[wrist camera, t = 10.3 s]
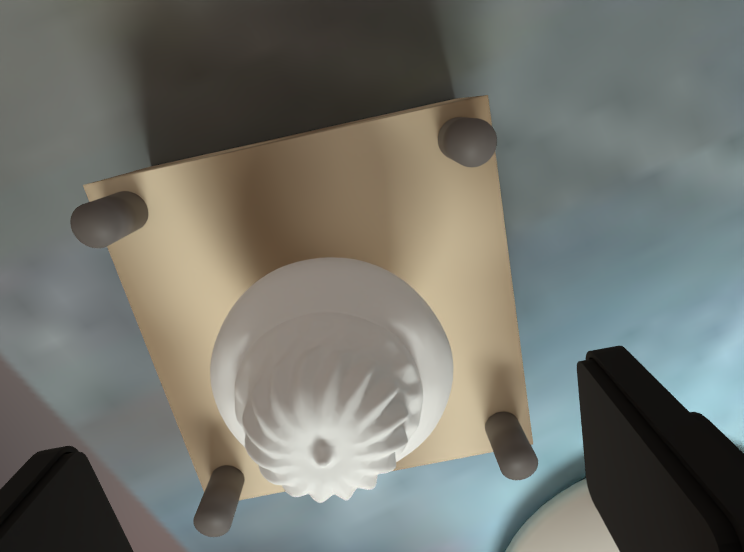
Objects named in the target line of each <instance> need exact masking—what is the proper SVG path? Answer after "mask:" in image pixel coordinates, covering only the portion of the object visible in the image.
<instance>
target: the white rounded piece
mask: <svg viewBox="0 0 744 552" xmlns="http://www.w3.org/2000/svg"><path fill="white" fill-rule="evenodd" d="M210 379H211V387H212V392H213V396H214V399H215V402H216V405H217V408H218V410H219V412H220V414H221V416H222V418H223V420H224V422H225V424H226V425H227V427H228V428H229V430H230V431H231V433H232V434H233V435H234V436H235V438H236V439H237V440H238V441H239V442H240V443H241V444H242V445H243V446H244V447H245V449H246V451H247V453H248V455H249V456H250V457H251V459H252V460H253V461H254V462H255V463H257V464H258V466H259V469H260V472H261V474H262V475H263V477H264V478H265V479H266V480H268V481H269V482H271V483H273V484H275V485H282V487H283V488H284V490H285V491H286V492H287V493H288V494H289V495H291V496H293V497H300V496H303V495H306V494H310V496H311V497H312V498H313V499H314V500H315V501H317V502H319V503H322V502H324V501H325V500H327V499H328V498H329V497H330V496H331V495H334V494H335V495H337V496H339V497H340V498H342V499H343V500H348V499H350V498H351V496H352V495H353V493H354V491H355V490H356V489H357V488H362V489H368V490H370V489H373V488H374V487H375V486H376V483H377V475H378V474H382V473H388V472H390V471H393V470H394V469H395V468H396V462H398V461H399V460H401V459H402V458H404V457H405V456H407V455H408V454H409V453H411V452H412V451H413V450H415V449H416V448H417V447H418V446H419V445H420V444H422V443H423V442H424V441H425V440H426V438H427V437H428V436H429V435H430V434H431V432H432V431H433V430H434V428H435V427H436V425H437V423H438V422H439V420H440V418H441V416H442V414H443V412H444V410H445V407H446V405H447V402H448V399H449V395H450V392H451V387H452V382H453V357H452V351H451V347H450V343H449V341H448V338H447V336H446V333H445V331H444V329H443V327H442V325H441V323H440V322H439V320H438V318H437V317H436V315H435V314H434V312H433V311H432V309H431V308H430V306H429V305H428V304H427V302H426V301H425V300H424V299H423V298H422V297H421V296H420V295H419V294H418V293H417V292H416V291H415V290H414V289H413V288H412V287H411V286H410V285H408V284H407V283H406V282H405V281H403V280H402V279H401V278H399V277H398V276H396V275H395V274H393V273H391V272H389V271H388V270H385V269H383V268H381V267H379V266H377V265H373V264H371V263H368V262H364V261H360V260H356V259H349V258H335V257H325V258H315V259H308V260H303V261H299V262H295V263H292V264H288V265H286V266H283V267H281V268H278V269H276V270H274V271H272V272H271V273H269V274H267V275H265V276H264V277H262V278H261V279H260V280H258V281H257V282H256V283H254V284H253V285H252V286H251V287H250V288H249V289H248V290H247V291H245V292H244V293H243V295H242V296H241V297H240V298H239V299H238V300H237V302H236V303H235V304H234V306H233V307H232V308H231V310H230V311H229V313H228V315H227V317H226V318H225V320H224V322H223V324H222V326H221V328H220V331H219V333H218V336H217V338H216V341H215V344H214V347H213V351H212V357H211V364H210Z"/></svg>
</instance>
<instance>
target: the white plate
mask: <svg viewBox="0 0 744 552" xmlns="http://www.w3.org/2000/svg"><path fill="white" fill-rule="evenodd" d="M505 552H620V551H619V549H618V547H617V546H616V544H615V542H614V540H613V538H612V536H611V534H610V533H609V531H608V529H607V527H606V525H605V523H604V522H603V520H602V518H601V516H600V514H599V512H598V510H597V509H596V507H595V505H594V503H593V501H592V499H591V496H590V493H589V490H588V486H587V481H586V479H583V480H581V481H579V482H577V483H575V484H574V485H572V486H570V487H569V488H567V489H565V490H564V491H562V492H560V493H559V494H557V495H556V496H554V497H553V498H552V499H551V500H549V501H548V502H547V503H545V504H544V505H543V506H541V507H540V508H539V509H538V510H537V511H536V512H535V513H534V514H533V515H532V516H531V517H530V518H529V519H528V520H527V521H526V522H525V523H524V525H523V526H522V527H521V528H520V529H519V531H518V532H517V533H516V534H515V536H514V537H513V539H512V541H511V542H510V544H509V546H508V547H507V549H506V551H505Z"/></svg>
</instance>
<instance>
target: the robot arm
mask: <svg viewBox="0 0 744 552" xmlns="http://www.w3.org/2000/svg"><path fill="white" fill-rule="evenodd" d="M577 377H578V388H579V400H580V412H581V424H582V435H583V447H584V459H585V471H586V481H587V486H588V490H589V493H590V496H591V499H592V501H593V503H594V505H595V507H596V509H597V510H598V512H599V514H600V516H601V518H602V520H603V522H604V523H605V525H606V527H607V529H608V531H609V533H610V534H611V536H612V538H613V540H614V542H615V544H616V546H617V547H618V549H619V551H620V552H744V453H743V452H742V451H741V450H739V449H738V448H737V447H736V446H735V445H734V444H733V443H732V442H731V441H730V440H729V439H728V438H727V437H726V436H725V435H724V434H723V433H722V432H721V431H720V430H719V429H718V428H717V427H716V426H715V425H713V424H712V423H711V422H710V421H709V420H708V419H707V418H706V417H704V416H703V415H702V414H700V413H696V412H689V411H688V410H687V409H686V408H685V407H684V406H683V405H682V404H681V403H680V402H679V401H678V400H677V399H676V398H675V397H674V396H673V395H672V394H671V393H670V392H669V391H668V390H667V389H666V388H665V387H664V386H663V385H662V384H661V383H660V382H659V381H658V380H657V379H655V378H654V377H653V376H652V375H651V374H650V373H649V372H648V371H647V370H646V369H645V368H644V367H643V366H642V365H641V364H640V363H639V362H638V361H637V360H636V359H635V358H634V357H633V356H632V355H631V354H630V353H629V352H628V351H627V350H626V349H625V348H624V347H623V346H615V347H609V348H604V349H598V350H593V351H588V352H587V354H586V360H584V361H579V362H578V363H577ZM0 552H133V550H132V548H131V546H130V544H129V542H128V540H127V538H126V536H125V534H124V531H123V529H122V527H121V525H120V523H119V521H118V519H117V517H116V515H115V513H114V511H113V509H112V507H111V505H110V503H109V501H108V499H107V497H106V495H105V493H104V491H103V489H102V487H101V485H100V482H99V480H98V478H97V476H96V474H95V472H94V470H93V468H92V466H91V464H90V462H89V460H88V458H87V457H86V455H85V454H83V453H82V452H79V451H78V450H77V449H76V448H74V447H72V446H65V447H59V448H54V449H48V450H44V451H39V452H37V453H36V454H34V455H33V456H32V457H31V458H30V459H29V460H28V461H27V462H26V463H25V464H24V465H23V466H22V467H21V468H20V469H19V470H18V471H17V473H16V474H15V475H14V476H13V477H12V478H11V479H10V480H9V481H8V482H7V483H6V484H5V485H4V486H3V487H2V488H1V489H0Z"/></svg>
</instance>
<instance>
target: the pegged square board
mask: <svg viewBox="0 0 744 552" xmlns="http://www.w3.org/2000/svg"><path fill="white" fill-rule="evenodd" d="M496 146H497V136H496V133H495V131H494V129H493V127H492V123H491V115H490V108H489V100H488V95H485V96H476V97H466V98H457V99H452V100H447V101H443V102H439V103H434V104H430V105H425V106H421V107H416V108H412V109H407V110H403V111H398V112H394V113H389V114H385V115H380V116H376V117H371V118H367V119H362V120H358V121H353V122H349V123H344V124H340V125H335V126H331V127H326V128H322V129H317V130H313V131H308V132H304V133H300V134H295V135H291V136H286V137H282V138H277V139H273V140H268V141H264V142H259V143H255V144H250V145H246V146H241V147H237V148H232V149H228V150H223V151H219V152H214V153H210V154H205V155H201V156H196V157H192V158H187V159H183V160H178V161H174V162H169V163H165V164H161V165H156V166H152V167H148V168H144V169H140V170H137V171H133V172H130V173H126V174H122V175H119V176H115V177H111V178H108V179H104V180H101V181H97V182H93V183H90V184H86V185H83V187H84V189H85V192H86V194H87V197H88V199H89V202H88V203H85V204H82V205H80V206H79V207H77V208H76V209H75V210H74V212H73V213H72V216H71V228H72V231H73V233H74V235H75V236H76V238H77V239H78V240H79V241H80V242H82V243H83V244H85V245H86V246H89V247H92V248H104V247H108V250H109V252H110V255H111V257H112V260H113V262H114V265H115V267H116V270H117V273H118V275H119V278H120V280H121V283H122V285H123V288H124V290H125V293H126V295H127V298H128V300H129V303H130V305H131V308H132V310H133V313H134V316H135V318H136V321H137V323H138V326H139V328H140V331H141V333H142V336H143V338H144V341H145V343H146V346H147V348H148V351H149V353H150V356H151V359H152V361H153V364H154V366H155V369H156V371H157V374H158V376H159V379H160V381H161V384H162V386H163V389H164V391H165V394H166V396H167V399H168V402H169V404H170V407H171V409H172V412H173V414H174V417H175V419H176V422H177V424H178V427H179V429H180V432H181V434H182V437H183V439H184V442H185V445H186V447H187V450H188V452H189V455H190V457H191V460H192V462H193V465H194V467H195V470H196V472H197V475H198V477H199V480H200V482H201V485H202V488H203V490H204V494H203V497H202V499H201V502H200V504H199V507H198V509H197V512H196V514H195V517H194V526H195V528H196V529H197V530H198V531H199V532H200V533H201V534H203V535H205V536H209V537H218V536H222V535H224V534H225V533H227V532H228V531H229V529H230V527H231V524H232V521H233V517H234V514H235V511H236V508H237V504H238V501H239V500H243V499H248V498H253V497H259V496H264V495H269V494H274V493H280V492H285V490H284V488H283V487H282V485H275V484H273V483H271V482H269V481H268V480H266V479H265V478H264V477H263V475H262V474H261V472H260V469H259V466H258V464H257V463H255V462H254V461H253V460H252V459H251V457H250V456H249V455H248V453H247V451H246V449H245V447H244V446H243V445H242V444H241V443H240V442H239V441H238V440H237V439H236V438H235V436H234V435H233V434H232V433H231V431H230V430H229V428H228V427H227V425H226V424H225V422H224V420H223V418H222V416H221V414H220V412H219V410H218V408H217V405H216V402H215V399H214V396H213V392H212V387H211V379H210V364H211V357H212V351H213V347H214V344H215V341H216V338H217V336H218V333H219V331H220V328H221V326H222V324H223V322H224V320H225V318H226V317H227V315H228V313H229V311H230V310H231V308H232V307H233V306H234V304H235V303H236V302H237V300H238V299H239V298H240V297H241V296H242V295H243V293H244V292H245V291H247V290H248V289H249V288H250V287H251V286H252V285H253V284H254V283H256V282H257V281H258V280H260V279H261V278H262V277H264V276H265V275H267V274H269V273H271V272H272V271H274V270H276V269H278V268H281V267H283V266H286V265H288V264H292V263H295V262H299V261H303V260H308V259H315V258H325V257H335V258H349V259H356V260H360V261H364V262H368V263H371V264H373V265H377V266H379V267H381V268H383V269H385V270H388V271H389V272H391V273H393V274H395V275H396V276H398V277H399V278H401V279H402V280H403V281H405V282H406V283H407V284H408V285H410V286H411V287H412V288H413V289H414V290H415V291H416V292H417V293H418V294H419V295H420V296H421V297H422V298H423V299H424V300H425V301H426V302H427V304H428V305H429V306H430V308H431V309H432V311H433V312H434V314H435V315H436V317H437V318H438V320H439V322H440V323H441V325H442V327H443V329H444V331H445V333H446V336H447V338H448V341H449V343H450V347H451V351H452V357H453V382H452V387H451V392H450V395H449V399H448V402H447V405H446V407H445V410H444V412H443V414H442V416H441V418H440V420H439V422H438V423H437V425H436V427H435V428H434V430H433V431H432V432H431V434H430V435H429V436H428V437H427V438H426V440H425V441H424V442H423V443H422V444H420V445H419V446H418V447H417V448H416V449H415V450H413V451H412V452H411V453H409V454H408V455H407V456H405V457H404V458H402V459H401V460H399V461H398V462H396V468H395V469H394V470H393V471H395V470H400V469H406V468H411V467H416V466H421V465H427V464H432V463H437V462H442V461H448V460H453V459H458V458H463V457H469V456H474V455H479V454H484V453H490V452H494V454H495V457H496V459H497V462H498V465H499V467H500V470H501V472H502V474H503V475H504V476H505V477H507V478H509V479H512V480H522V479H526V478H528V477H529V476H531V475H532V474H533V473H534V472H535V471H536V469H537V466H538V459H537V456H536V454H535V452H534V450H533V448H532V447H531V445H532V444H533V439H532V432H531V424H530V416H529V409H528V401H527V393H526V385H525V378H524V370H523V362H522V355H521V347H520V339H519V331H518V324H517V316H516V308H515V301H514V293H513V285H512V277H511V270H510V262H509V254H508V247H507V239H506V231H505V223H504V216H503V208H502V200H501V193H500V185H499V177H498V169H497V162H496V154H495V150H496Z"/></svg>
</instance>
